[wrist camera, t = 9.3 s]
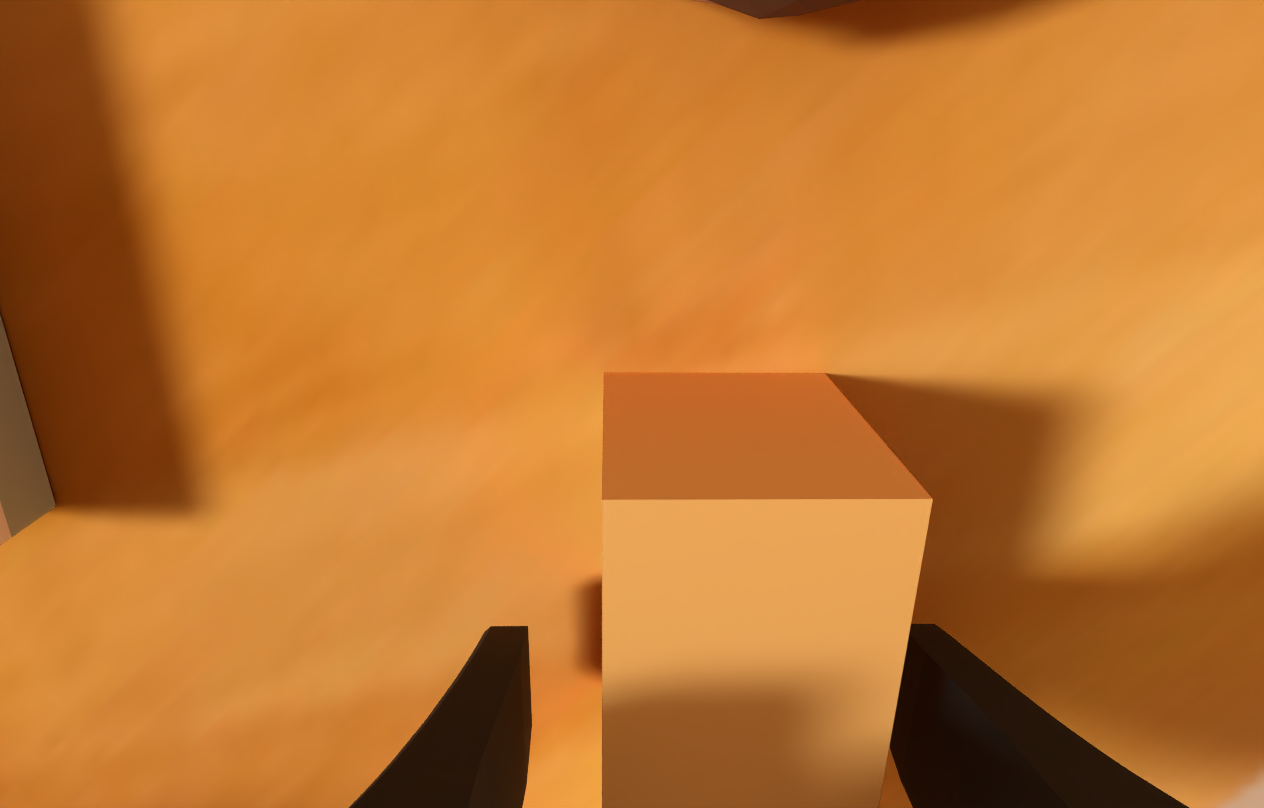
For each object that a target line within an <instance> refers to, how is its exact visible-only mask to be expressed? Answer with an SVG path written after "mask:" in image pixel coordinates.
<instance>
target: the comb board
mask: <svg viewBox="0 0 1264 808" xmlns="http://www.w3.org/2000/svg"><path fill="white" fill-rule="evenodd" d="M54 507H56V504H55V501H54V497H53V494H52V491H51V487H50V484H49V480H48V477H47V473H46V470H45V467H44V463H43V460H42V456H41V453H40V449H39V446H38V443H37V439H36V436H35V432H34V429H33V425H32V422H31V418H30V415H29V412H28V408H27V405H26V401H25V398H24V394H23V391H22V388H21V384H20V381H19V377H18V374H17V370H16V367H15V363H14V360H13V357H12V353H11V350H10V346H9V343H8V339H7V336H6V333H5V329H4V326H3V322H2V319H1V315H0V545H1V544H3V543H4V542H6V541H7V540H8V539H10V538H11V537H13V536H14V535H16V534H17V533H18V532H20V531H21V530H23V529H24V528H26V527H27V526H28V525H30V524H31V523H33V522H34V521H36V520H37V519H38V518H40V517H41V516H43V515H44V514H46V513H47V512H48V511H50V510H51V509H53V508H54Z"/></svg>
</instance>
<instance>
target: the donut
mask: <svg viewBox="0 0 1264 808" xmlns="http://www.w3.org/2000/svg"><path fill="white" fill-rule="evenodd" d="M693 1H700V2H706V3H712V4H719V5H722V6H725V7H728V8H730V9H733V10H736V11H739V12H742V13H744V14H747V15H750V16H753V17H756V18H758V19H761V18H773V17H785V16H796V15H802V14H806V13H810V12H814V11H818V10H822V9H826V8H830V7H835V6H839V5H843V4H847V3H851V2H855V1H859V0H693Z"/></svg>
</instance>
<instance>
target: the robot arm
mask: <svg viewBox="0 0 1264 808" xmlns="http://www.w3.org/2000/svg"><path fill="white" fill-rule="evenodd" d="M531 729H532V714H531V689H530V665H529V640H528V626H491V627H490V628H489V629H488V630H486V631H485V632H484V634H483V636H482V638H481V639H480V641H479V643H478V644H477V646H476V648H475V649H474V651H473V653H472V654H471V656H470V658H469V659H468V661H467V662H466V664H465V665H464V667H463V668H462V670H461V671H460V673H459V674H458V676H457V677H456V679H455V680H454V682H453V683H452V685H451V686H450V688H449V689H448V690H447V692H446V693H445V694H444V696H443V697H442V699H441V700H440V701H439V703H438V704H437V705H436V707H435V708H434V710H433V711H432V712H431V714H430V715H429V716H428V718H427V719H426V720H425V722H424V723H423V724H422V725H421V727H420V728H419V729H418V730H417V732H416V733H415V734H414V735H413V736H412V738H411V739H410V740H409V741H408V742H407V744H406V745H405V746H404V747H403V749H402V750H401V751H400V752H399V753H398V755H397V756H396V757H395V758H394V760H393V761H392V762H391V763H390V764H389V765H388V766H387V768H386V769H385V770H384V771H383V772H382V773H381V774H380V775H379V777H378V778H377V779H376V780H375V781H374V782H373V783H372V784H371V785H370V786H369V787H368V788H367V789H366V790H365V792H364V793H363V794H362V795H361V796H360V797H359V798H358V799H357V800H356V801H355V802H354V803H353V804H352V805H351V806H350V807H349V808H522V805H523V800H524V795H525V790H526V784H527V773H528V763H529V752H530V740H531ZM890 749H891V752H892V755H893V758H894V761H895V764H896V767H897V770H898V773H899V776H900V779H901V782H902V784H903V786H904V788H905V791H906V793H907V795H908V798H909V800H910V802H911V804H912V806H913V808H1189V807H1187V806H1186V805H1184V804H1182V803H1181V802H1179V801H1177V800H1176V799H1174V798H1173V797H1171V796H1169V795H1168V794H1166V793H1164V792H1163V791H1161V790H1160V789H1158V788H1156V787H1155V786H1153V785H1152V784H1150V783H1148V782H1147V781H1145V780H1144V779H1142V778H1140V777H1139V776H1137V775H1136V774H1134V773H1132V772H1131V771H1129V770H1128V769H1126V768H1125V767H1123V766H1122V765H1120V764H1119V763H1117V762H1116V761H1114V760H1113V759H1111V758H1110V757H1108V756H1107V755H1105V754H1104V753H1103V752H1101V751H1100V750H1098V749H1097V748H1096V747H1094V746H1093V745H1091V744H1090V743H1088V742H1087V741H1086V740H1084V739H1083V738H1081V737H1080V736H1079V735H1077V734H1076V733H1074V732H1073V731H1071V730H1070V729H1069V728H1067V727H1066V726H1065V725H1063V724H1062V723H1061V722H1059V721H1058V720H1057V719H1055V718H1054V717H1052V716H1051V715H1050V714H1048V713H1047V712H1046V711H1045V710H1043V709H1042V708H1041V707H1039V706H1038V705H1037V704H1035V703H1034V702H1033V701H1031V700H1030V699H1029V698H1028V697H1026V696H1025V695H1024V694H1022V693H1021V692H1020V691H1019V690H1017V689H1016V688H1015V687H1014V686H1012V685H1011V684H1010V683H1009V682H1007V681H1006V680H1005V679H1003V678H1002V677H1001V676H1000V675H998V674H997V673H996V672H995V671H994V670H992V669H991V668H990V667H989V666H987V665H986V664H985V663H984V662H982V661H981V660H980V659H979V658H977V657H976V656H975V655H974V654H972V653H971V652H970V651H969V650H967V649H966V648H965V647H964V646H962V645H961V644H960V643H959V642H957V641H956V640H955V639H954V638H952V637H951V636H950V635H949V634H947V633H946V632H945V631H943V630H942V629H941V628H939V627H938V626H936V625H935V624H911V626H910V632H909V638H908V643H907V649H906V655H905V660H904V666H903V672H902V678H901V683H900V689H899V695H898V700H897V706H896V712H895V717H894V723H893V729H892V734H891V740H890Z"/></svg>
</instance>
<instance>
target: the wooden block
mask: <svg viewBox="0 0 1264 808" xmlns="http://www.w3.org/2000/svg"><path fill="white" fill-rule="evenodd" d="M932 501H933V499H932V497H931V496H930V495H929V494H928V493H927V492H926V490H925V489H924V488H923V487H922V486H921V485H920V483H919V482H918V481H917V480H916V479H915V478H914V476H913V475H912V474H911V473H910V472H909V471H908V469H907V468H906V467H905V466H904V465H903V464H902V462H901V461H900V460H899V459H898V458H897V457H896V455H895V454H894V453H893V452H892V451H891V450H890V448H889V447H888V446H887V445H886V444H885V443H884V441H883V440H882V439H881V438H880V437H879V436H878V434H877V433H876V432H875V431H874V430H873V429H872V427H871V426H870V425H869V424H868V423H867V422H866V421H865V419H864V418H863V417H862V416H861V415H860V414H859V412H858V411H857V410H856V409H855V408H854V407H853V405H852V404H851V403H850V402H849V401H848V400H847V398H846V397H845V396H844V395H843V394H842V393H841V391H840V390H839V389H838V388H837V387H836V386H835V384H834V383H833V382H832V381H831V380H830V379H829V377H828V376H827V375H826V374H825V373H604V396H603V466H602V808H879V803H880V797H881V791H882V786H883V780H884V774H885V768H886V763H887V757H888V751H889V746H890V740H891V734H892V729H893V723H894V717H895V712H896V706H897V700H898V695H899V689H900V683H901V678H902V672H903V666H904V660H905V655H906V649H907V643H908V638H909V632H910V626H911V621H912V615H913V609H914V604H915V598H916V592H917V587H918V581H919V575H920V570H921V564H922V558H923V552H924V547H925V541H926V535H927V530H928V524H929V518H930V513H931V507H932Z"/></svg>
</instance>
